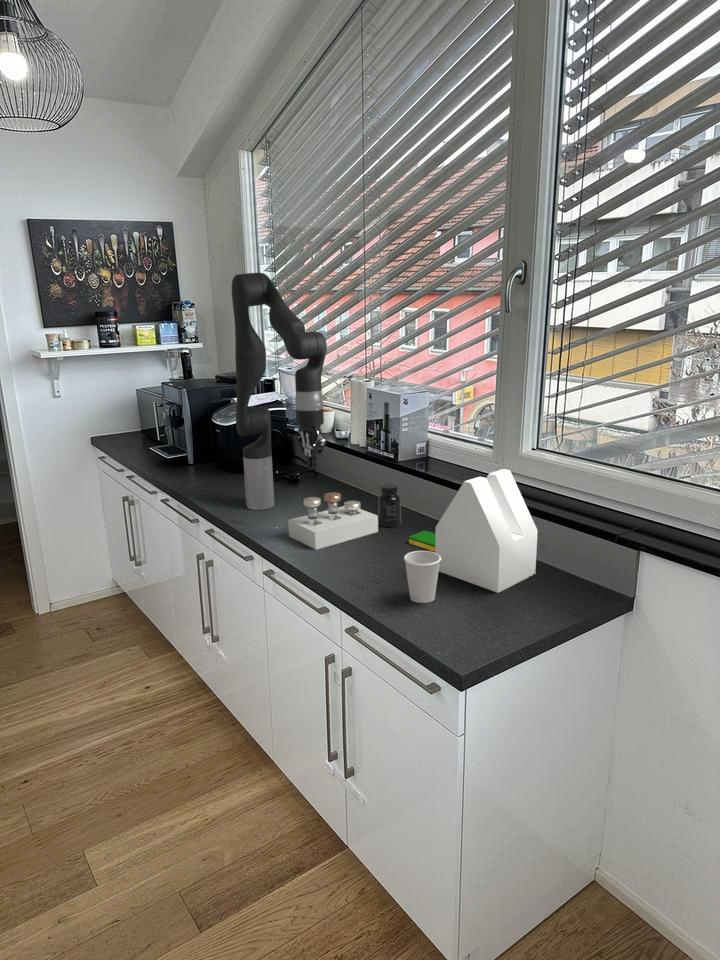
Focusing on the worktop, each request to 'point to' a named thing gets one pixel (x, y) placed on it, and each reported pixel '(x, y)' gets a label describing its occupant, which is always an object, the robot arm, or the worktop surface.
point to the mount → (332, 527)
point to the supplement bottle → (389, 506)
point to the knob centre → (332, 502)
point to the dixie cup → (422, 575)
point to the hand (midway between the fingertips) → (311, 468)
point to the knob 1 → (312, 506)
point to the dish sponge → (423, 540)
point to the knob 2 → (352, 507)
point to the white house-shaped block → (488, 534)
